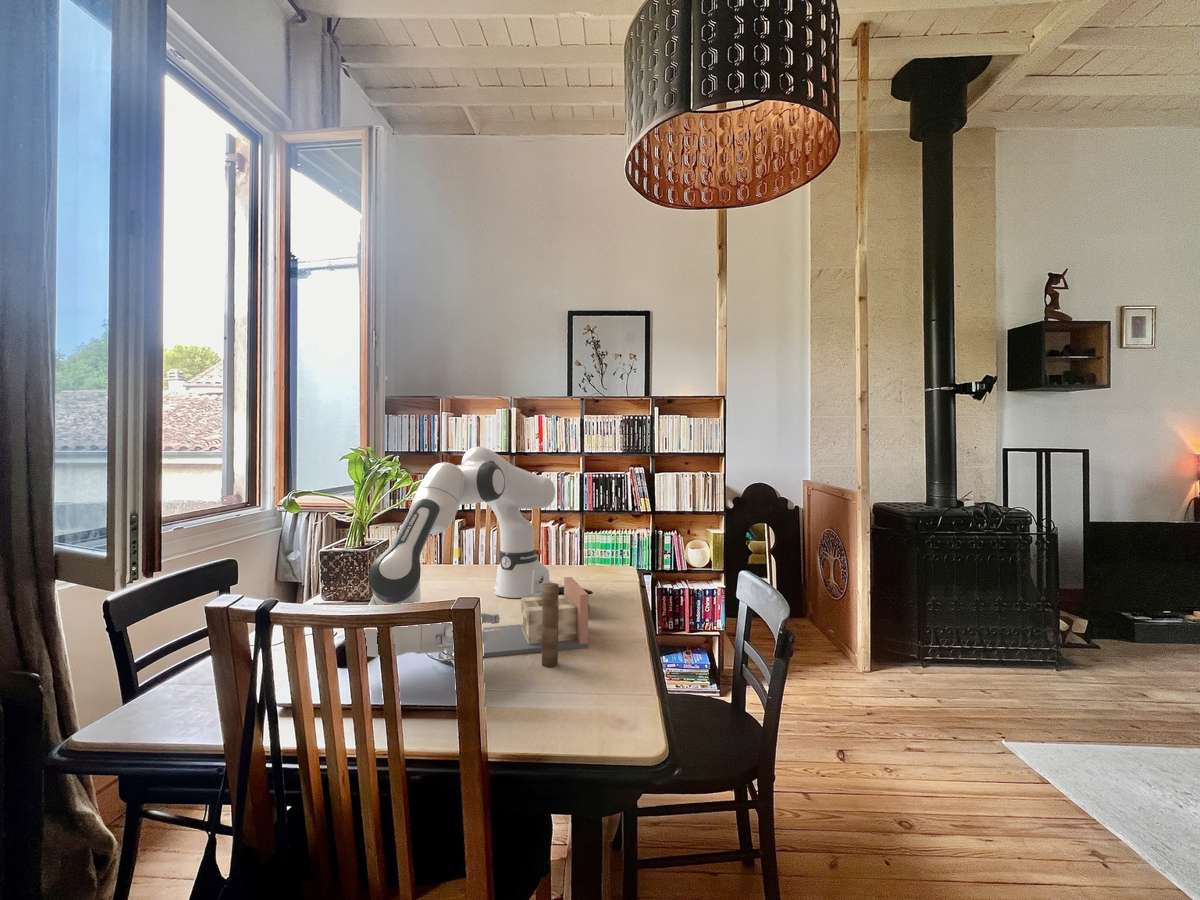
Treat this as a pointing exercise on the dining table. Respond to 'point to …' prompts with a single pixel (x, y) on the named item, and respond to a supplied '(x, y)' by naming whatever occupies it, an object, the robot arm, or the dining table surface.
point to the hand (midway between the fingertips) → (501, 625)
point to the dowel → (550, 625)
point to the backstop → (518, 644)
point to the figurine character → (561, 592)
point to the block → (533, 619)
